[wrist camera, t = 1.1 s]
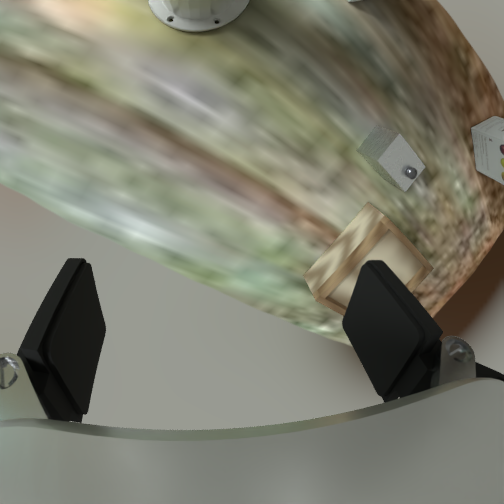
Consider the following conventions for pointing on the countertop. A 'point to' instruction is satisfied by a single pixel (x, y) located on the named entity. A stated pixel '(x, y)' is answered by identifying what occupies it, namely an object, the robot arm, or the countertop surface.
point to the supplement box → (489, 148)
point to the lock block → (391, 157)
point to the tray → (364, 259)
